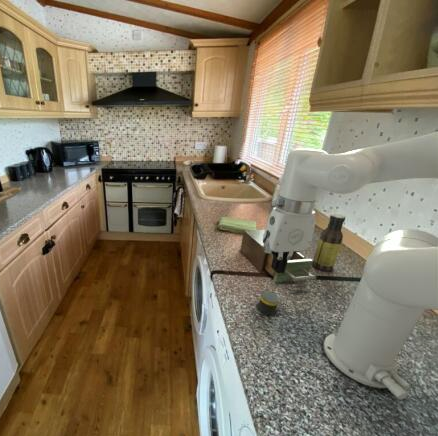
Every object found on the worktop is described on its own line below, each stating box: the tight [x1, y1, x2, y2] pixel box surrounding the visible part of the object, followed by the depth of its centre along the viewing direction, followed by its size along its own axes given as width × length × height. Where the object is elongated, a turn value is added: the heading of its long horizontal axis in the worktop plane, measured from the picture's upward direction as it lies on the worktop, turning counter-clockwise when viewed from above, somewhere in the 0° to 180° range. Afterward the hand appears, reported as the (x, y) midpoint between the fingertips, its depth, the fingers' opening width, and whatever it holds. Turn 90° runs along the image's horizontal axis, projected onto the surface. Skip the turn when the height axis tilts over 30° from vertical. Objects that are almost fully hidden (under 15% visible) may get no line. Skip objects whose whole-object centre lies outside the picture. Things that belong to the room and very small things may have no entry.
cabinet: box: [240, 229, 300, 273], centre depth 90 cm, size 15×13×9 cm
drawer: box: [264, 251, 317, 283], centre depth 81 cm, size 18×11×7 cm, turn 9°
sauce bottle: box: [312, 213, 346, 271], centre depth 84 cm, size 6×6×20 cm
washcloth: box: [217, 216, 258, 235], centre depth 117 cm, size 13×18×3 cm
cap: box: [257, 291, 280, 316], centre depth 67 cm, size 4×4×4 cm
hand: (277, 270), depth 63 cm, fingers closed
